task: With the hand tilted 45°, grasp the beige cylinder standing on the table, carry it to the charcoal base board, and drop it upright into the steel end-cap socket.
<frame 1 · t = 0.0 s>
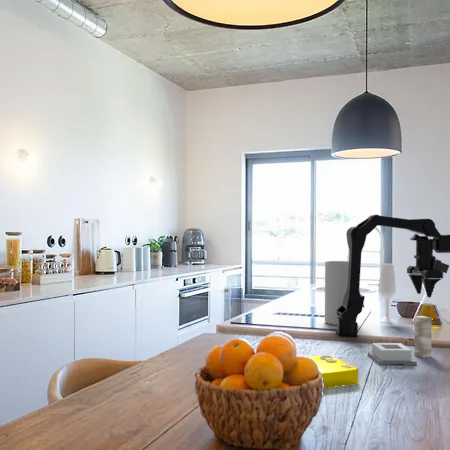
hand: (424, 295, 186), 15 cm above the table, tool pointing down, fingers open, 9 cm apart
cylinder vase: (340, 323, 208), on the table
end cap: (391, 359, 152), on the table
element tile: (320, 380, 133), on the table
beige cylinder: (422, 355, 157), on the table
champagne flute: (387, 321, 213), on the table
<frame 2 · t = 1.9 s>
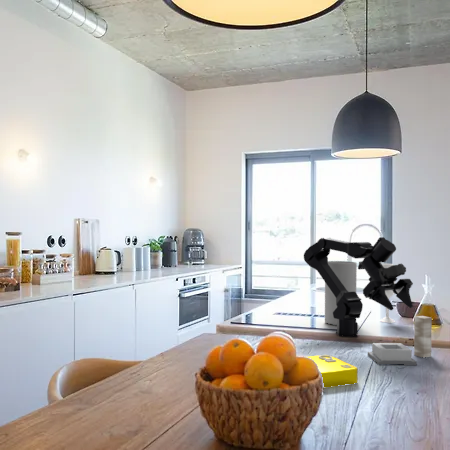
hand: (402, 308, 164), 13 cm above the table, tool tilted 45°, fingers open, 9 cm apart
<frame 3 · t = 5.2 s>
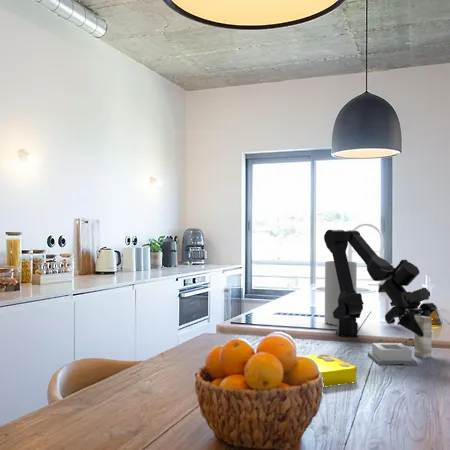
hand: (426, 335, 156), 7 cm above the table, tool tilted 45°, fingers closed on beige cylinder, 3 cm apart
beige cylinder: (422, 355, 157), on the table, touching gripper
when the fingers open (8 cm above the table, at t = 9.3 s): beige cylinder stays where it is, resting on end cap.
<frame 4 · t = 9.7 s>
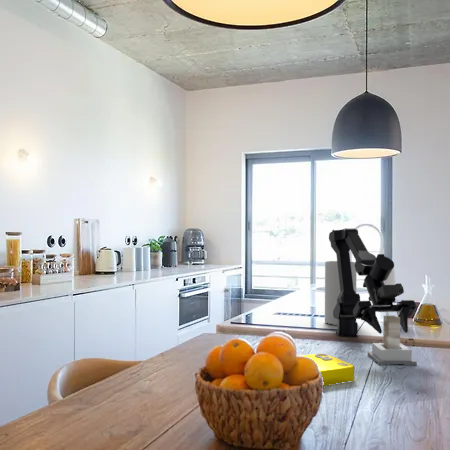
hand: (393, 332, 151), 9 cm above the table, tool tilted 45°, fingers open, 8 cm apart
beige cylinder: (391, 356, 152), point 1 cm above the table, touching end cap
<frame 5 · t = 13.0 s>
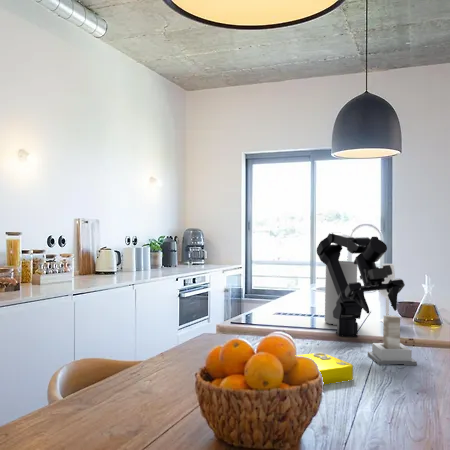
hand: (382, 311, 162), 13 cm above the table, tool tilted 35°, fingers open, 9 cm apart
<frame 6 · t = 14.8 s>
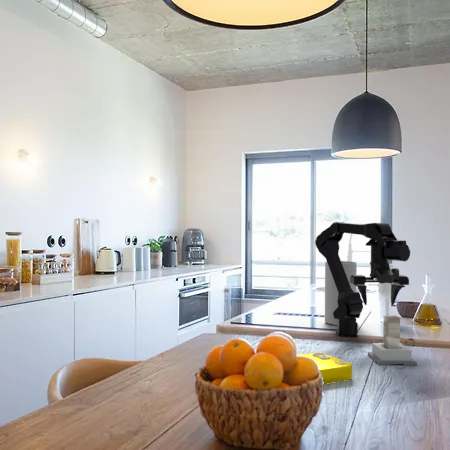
hand: (379, 305, 174), 13 cm above the table, tool pointing down, fingers open, 9 cm apart
at the end: beige cylinder 0.0 cm off-centre on the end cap, point 1.0 cm above the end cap's base; beige cylinder tilted 0°; the gripper is holding nothing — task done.
